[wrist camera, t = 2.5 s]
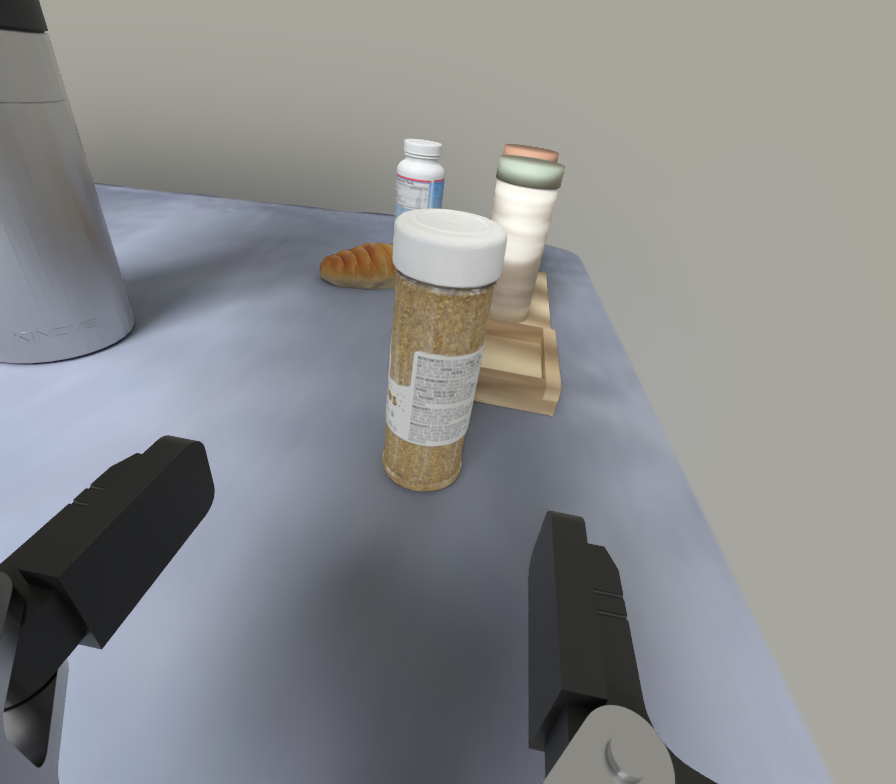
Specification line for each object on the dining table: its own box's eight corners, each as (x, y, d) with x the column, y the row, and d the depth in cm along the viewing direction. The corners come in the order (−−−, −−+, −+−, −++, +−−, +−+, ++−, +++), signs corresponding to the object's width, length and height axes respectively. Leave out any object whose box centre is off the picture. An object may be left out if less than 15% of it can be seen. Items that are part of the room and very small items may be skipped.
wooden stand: (553, 416, 31) (620, 208, 23) (424, 391, 31) (448, 180, 24) (543, 282, 52) (576, 151, 45) (466, 269, 53) (486, 137, 45)
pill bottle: (422, 227, 65) (430, 138, 59) (446, 240, 61) (458, 147, 55) (385, 229, 62) (389, 136, 55) (409, 244, 58) (416, 145, 52)
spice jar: (382, 437, 27) (395, 200, 19) (458, 440, 28) (499, 211, 20) (379, 495, 23) (393, 230, 16) (466, 498, 24) (520, 244, 16)
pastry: (330, 297, 43) (329, 257, 40) (312, 271, 47) (310, 234, 45) (420, 289, 47) (424, 253, 45) (395, 266, 51) (397, 232, 49)
